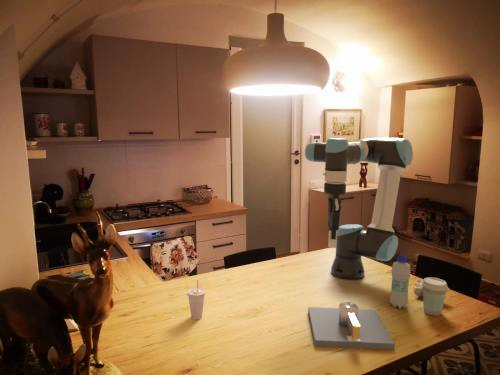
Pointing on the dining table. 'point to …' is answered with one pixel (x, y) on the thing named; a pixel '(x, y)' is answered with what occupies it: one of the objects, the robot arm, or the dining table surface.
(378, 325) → the grey base plate
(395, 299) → the bottle
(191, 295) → the smoothie
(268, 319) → the dining table surface
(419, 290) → the cat figurine
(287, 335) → the dining table surface
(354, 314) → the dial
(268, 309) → the dining table surface
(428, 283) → the coffee cup
